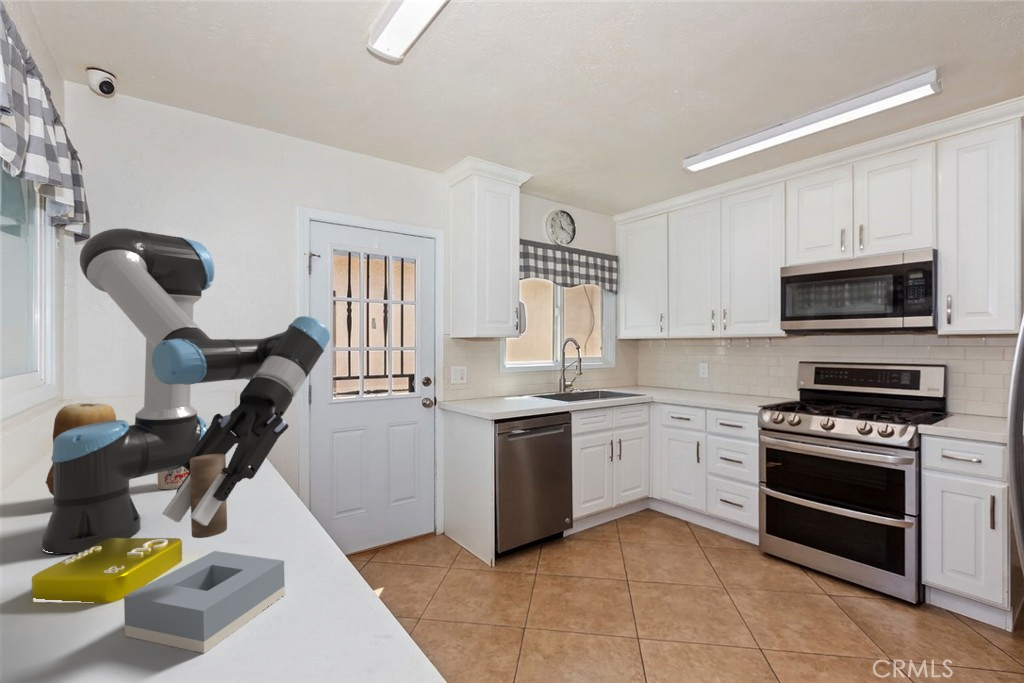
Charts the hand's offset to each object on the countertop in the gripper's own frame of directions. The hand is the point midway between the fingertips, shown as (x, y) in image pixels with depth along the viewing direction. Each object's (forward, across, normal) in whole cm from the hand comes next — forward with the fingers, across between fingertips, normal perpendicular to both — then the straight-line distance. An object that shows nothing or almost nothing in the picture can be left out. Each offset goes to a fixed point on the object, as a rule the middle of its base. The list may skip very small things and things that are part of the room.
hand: (184, 519), depth 65 cm
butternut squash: (-14, +77, -36) cm, 86 cm away
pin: (0, 0, -5) cm, 5 cm away
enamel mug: (-26, +65, -48) cm, 85 cm away
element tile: (+6, +26, -17) cm, 32 cm away
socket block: (+8, 0, -14) cm, 16 cm away
